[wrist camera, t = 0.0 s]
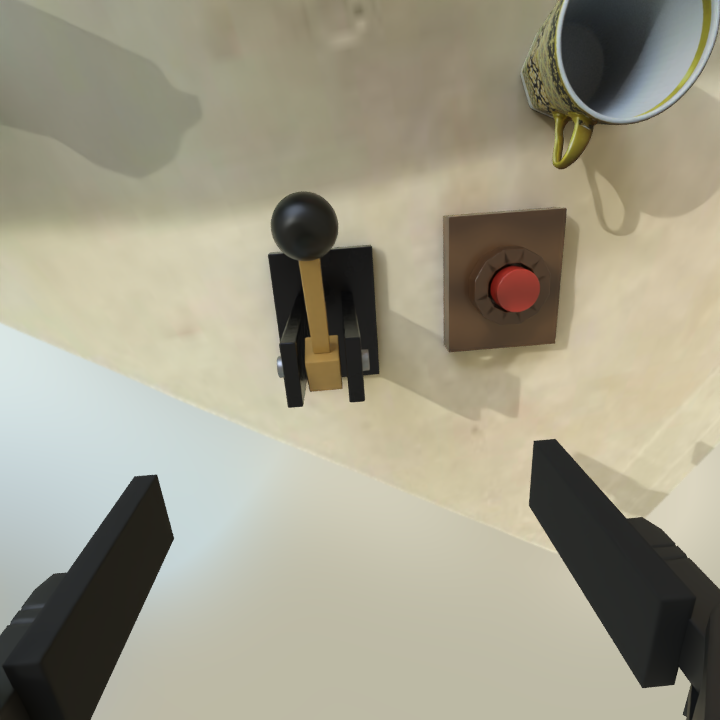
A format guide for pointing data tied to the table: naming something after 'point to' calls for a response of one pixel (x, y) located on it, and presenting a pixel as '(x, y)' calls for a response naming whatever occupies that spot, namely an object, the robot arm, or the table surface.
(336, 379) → the switch lever
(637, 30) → the ceramic cup
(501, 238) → the button block
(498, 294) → the button
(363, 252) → the switch bracket
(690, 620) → the robot arm
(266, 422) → the table surface
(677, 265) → the table surface
